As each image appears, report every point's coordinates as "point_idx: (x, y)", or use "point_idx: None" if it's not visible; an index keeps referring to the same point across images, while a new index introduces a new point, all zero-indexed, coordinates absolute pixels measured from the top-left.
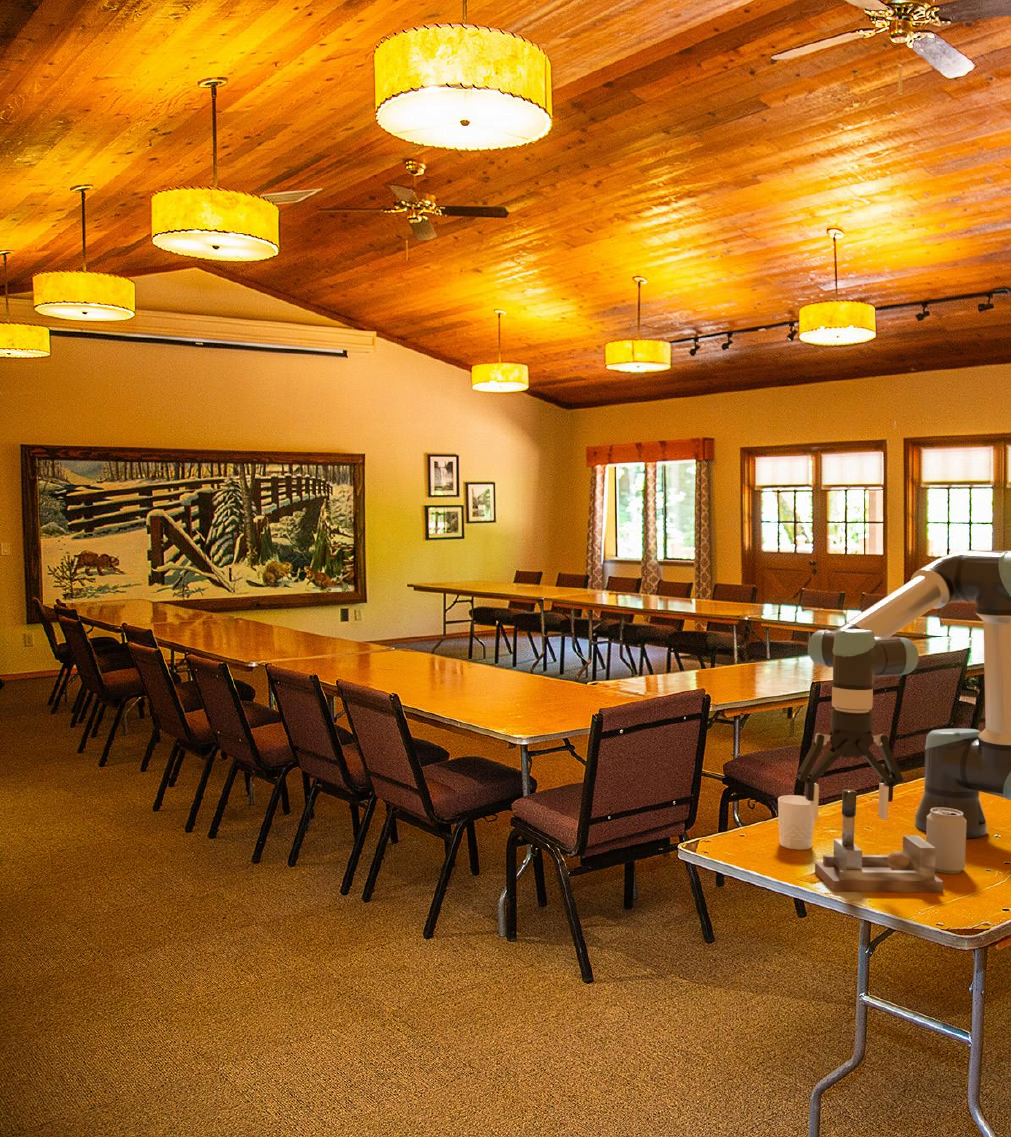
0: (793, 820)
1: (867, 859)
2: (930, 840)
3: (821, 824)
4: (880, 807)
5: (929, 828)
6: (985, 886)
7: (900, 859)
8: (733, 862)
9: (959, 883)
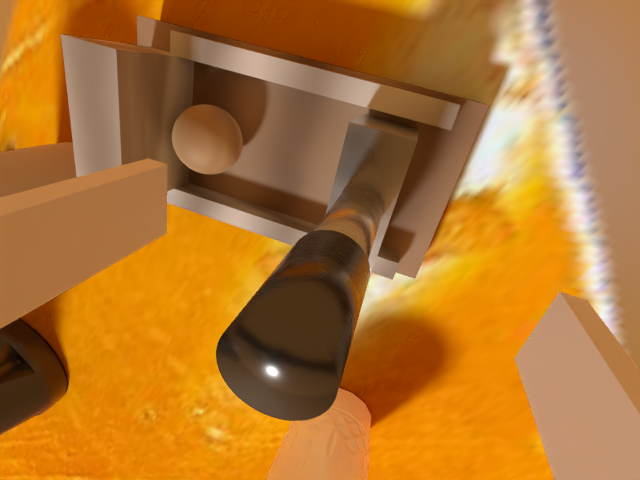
0: (349, 464)
1: (272, 218)
2: None
3: (218, 460)
4: (126, 231)
5: None
6: (43, 43)
7: (204, 113)
8: None
9: None
